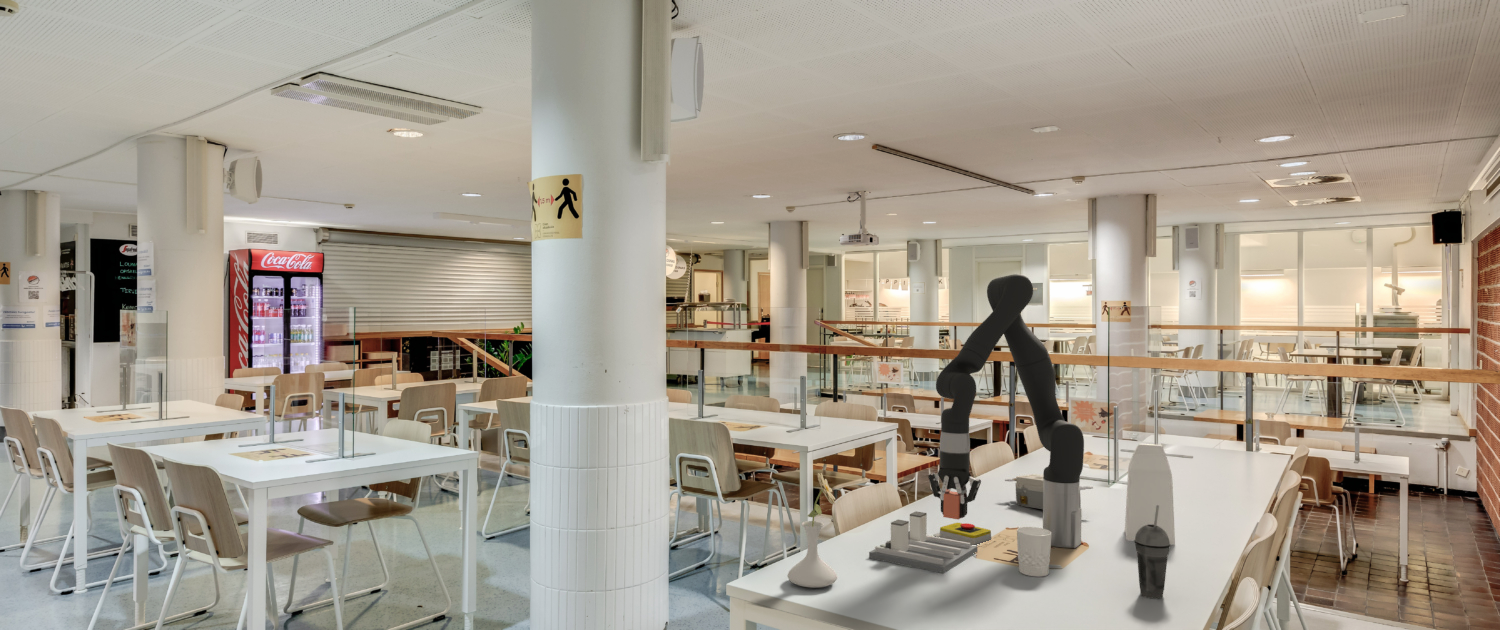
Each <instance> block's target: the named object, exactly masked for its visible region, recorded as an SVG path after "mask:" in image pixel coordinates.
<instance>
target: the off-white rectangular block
mask: <svg viewBox="0 0 1500 630" xmlns="http://www.w3.org/2000/svg"><path fill="white" fill-rule="evenodd" d="M927 516H928V514H927V512H923V511H918V510H917V511H916V510H915V511H914V512H912V513H909V531H910V535H909V539H910V540H915V541H921V542H925V541H926V535H927Z"/></svg>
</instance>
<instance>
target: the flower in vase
mask: <svg viewBox="0 0 1500 630" xmlns="http://www.w3.org/2000/svg"><path fill="white" fill-rule="evenodd" d="M817 480H818V482H819V485H820V487H821V489H820V491H819V492H818V495H817V497H816V500H815V501H814V505H813V510H811V511H810V513H809V514H808V515H807V517H808V518H812V520H806V521H803V522H802V523H801V525H802V527H803V528H804V530H805V533H806V538H807V552H806V555H805V557H804V558H803V559H801V560H800V561H799V562H797V563H796V564H795V565H794V566H792V567H791V569H790V570H789V571H788V573H787V579H788V580H789V581H790V582H791V583H792V584H795V585H796V586H800V587H802V588H803V587H804V588H812V589H813V588H814V589H815V588H824V587H828V586H831V585H833V584H834V583H836V581H837V580H838V576H837V572H836V571H835V570H834V569H833V568H832V567H831V566H830V565H829V564H827V563H826V562H825V561H824V560H823V559H822V558H821V557H820V555H819V553H818V542H819V535H820V532H821V530H822V528H823V526H824V525H825V524H824V522H821V521H817V520H815V517H817V516H821V515H822V512H823V511H822V509H821V506H820V505H819V504H817V502H818V500H819V498H820V496H821V494H822V493H823V494H824V496H825V498H826V499H827V501H828V503H830V504H831V505H835V504H836V502H835V501H836V498H835V496H834V495H833V489H832V488H831V487H830V485H829V483H828V480H827V478H824V476H823V473H822V472H821V473H819V472H818V473H817Z"/></svg>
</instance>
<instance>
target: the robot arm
mask: <svg viewBox="0 0 1500 630" xmlns="http://www.w3.org/2000/svg"><path fill="white" fill-rule="evenodd" d="M1033 295H1034V286H1033V283H1032V282H1031V280H1030V278H1029V277H1027V276H1026V275H1024V274H1022V273H1021V274H1020V273H1018V274H1017V273H1016V274H1014V273H1013V274H1009V275H1004V276H1000V277H996V278H993V279H992V280H991V281H990V282H989V283H988V285H987V288H986V296H987V300H988V303H989V305H990V307H991V310H992V312H991V313H990V314H989V315H988V316H987V317H986V319H984V320H983V321H982V322H981V324H979V325H978V326H977V327H976V328H975V329H974V330H973V331H972V332H971V334H970V335H969V336H968V338H966V341H965V342H964V344H963V346H962V347H961V349H960V351H959V353H958V354H957V356H955V357H954V358H953V359H951V361H950V362H949V363H948V364H947V365H946V366H945V367H943V369H942V370H941V372H940V373H939V374H938V376H937V378H936V382H935V389H936V393H937V394H938V395H939V396H940V397H942V398H944V399H950V400H953V401H952V405H951V407H949V408H945V409H944V410H942V412H941V415H940V416H941V419H940V421H941V425H940V426H941V427H940V439H939V469H938V471H937V472H936V473H935V472H932V473H930V474H928V475H927V477H928V480H929V483H930V487H931V491H932V495H933V497H935V498H938V499H940V512H941V513H942V515H943V507H944V493H947V492H950V491H951V490H952V489H953V490H956V492H957V494H958V495H960V502H961V503H960V519H963V518H965V517H966V516H967V514H968V503H971V502H973V501H975V499H976V497H977V494H978V492H979V488H980V485H981V484H982V481H981V479H980V478H977V479H976V478H975V477H973V476H972V475H971V472H970V463H971V462H970V460H971V459H970V458H971V457H970V455H971V453H970V451H971V439H970V416H971V413H972V410H973V405H974V402H975V398H976V395H977V383H976V381H975V378H974V377H973V376H972V375H971V374H975V373H979V372H980V371H981V370H982V369H983V368H984V366H985V364H986V363H987V361H988V359H989V357H990V356H991V354H992V352H993V351H994V349H995V348H996V346H997V344H998V342H999V341H1000V340H1001V339H1002V337H1003V335H1004V338H1005V340H1006V344H1007V346H1008V349H1009V351H1010V353H1011V356H1012V360H1013V363H1014V365H1015V369H1016V371H1017V374H1018V376H1019V379H1020V382H1021V384H1022V386H1023V390H1024V392H1025V394H1026V398H1027V400H1028V403H1029V405H1030V407H1031V412H1032V414H1033V418H1034V422H1035V426H1036V431H1037V435H1038V438H1039V441H1040V444H1041V445H1042V447H1044V448H1045V450H1046V451H1048V452H1049V464H1048V465H1047V466H1046V467H1045V468H1044V469H1043V474H1042V475H1043V478H1044V479H1043V509H1042V529H1046V530H1049V531H1050V532H1051V547H1058V548H1067V549H1068V548H1069V549H1070V548H1072V549H1076V548H1078V547H1079V546H1080V545H1081V544H1082V508H1079V486H1081V484H1080V480H1081V478H1080V477H1081V474H1082V473H1083V472H1082V471H1083V468H1084V455H1085V454H1084V453H1085V439H1084V434H1083V432H1082V430H1081V429H1080V427H1079V426H1078V425H1076V424H1074V423H1072V422H1069V421H1065V418H1064V416H1063V414H1062V411H1061V409H1060V407H1059V405H1058V401H1057V395H1056V394H1057V393H1056V386H1057V385H1056V372H1055V368H1054V365H1053V363H1052V360H1051V357H1050V353H1049V352H1048V349H1047V347H1046V346H1045V344H1044V343H1043V342H1042V341H1041V340H1040V338H1039V337H1037V335H1036V334H1035V333H1034V332H1033V331H1032V330H1031V329H1030V328H1029V327H1028V326H1027V324H1026V322H1025V321H1024V319H1023V317H1022V315H1021V313H1022V312H1023V311H1024V309H1025V308H1026V307H1027V306H1028V305H1029V304H1030V302H1031V300H1032V299H1033ZM940 480H941V482H942V486H941V487H940V482H939V481H940ZM968 483H969V486H970V489H969V492H968V490H967V484H968Z"/></svg>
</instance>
